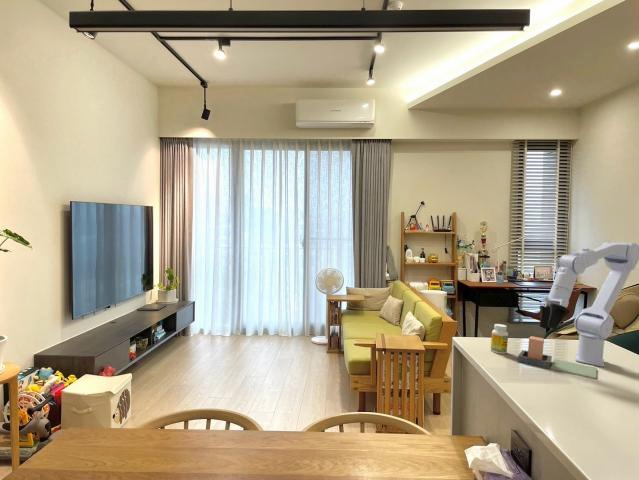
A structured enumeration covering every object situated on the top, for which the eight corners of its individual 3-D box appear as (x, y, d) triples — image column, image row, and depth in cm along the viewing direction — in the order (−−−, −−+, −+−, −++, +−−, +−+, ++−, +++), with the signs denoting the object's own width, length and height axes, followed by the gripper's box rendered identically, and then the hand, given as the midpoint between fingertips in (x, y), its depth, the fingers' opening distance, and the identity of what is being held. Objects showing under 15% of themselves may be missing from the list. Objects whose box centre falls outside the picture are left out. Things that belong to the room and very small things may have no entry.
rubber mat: (554, 359, 137) (554, 358, 137) (596, 369, 131) (596, 367, 131) (550, 368, 128) (550, 367, 128) (596, 379, 121) (596, 377, 121)
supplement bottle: (494, 348, 147) (496, 322, 146) (509, 352, 143) (511, 325, 143) (487, 351, 143) (490, 324, 143) (503, 355, 139) (505, 327, 139)
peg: (528, 359, 137) (530, 336, 136) (542, 362, 134) (544, 338, 134) (527, 362, 133) (529, 338, 133) (540, 365, 131) (542, 340, 131)
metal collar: (521, 355, 140) (522, 350, 140) (551, 362, 135) (551, 356, 135) (517, 361, 133) (518, 355, 133) (548, 368, 127) (549, 362, 127)
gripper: (541, 286, 139) (527, 322, 137) (557, 282, 125) (542, 322, 124) (562, 294, 137) (548, 331, 136) (581, 291, 123) (566, 332, 122)
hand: (547, 327), depth 129 cm, fingers open, 7 cm apart
